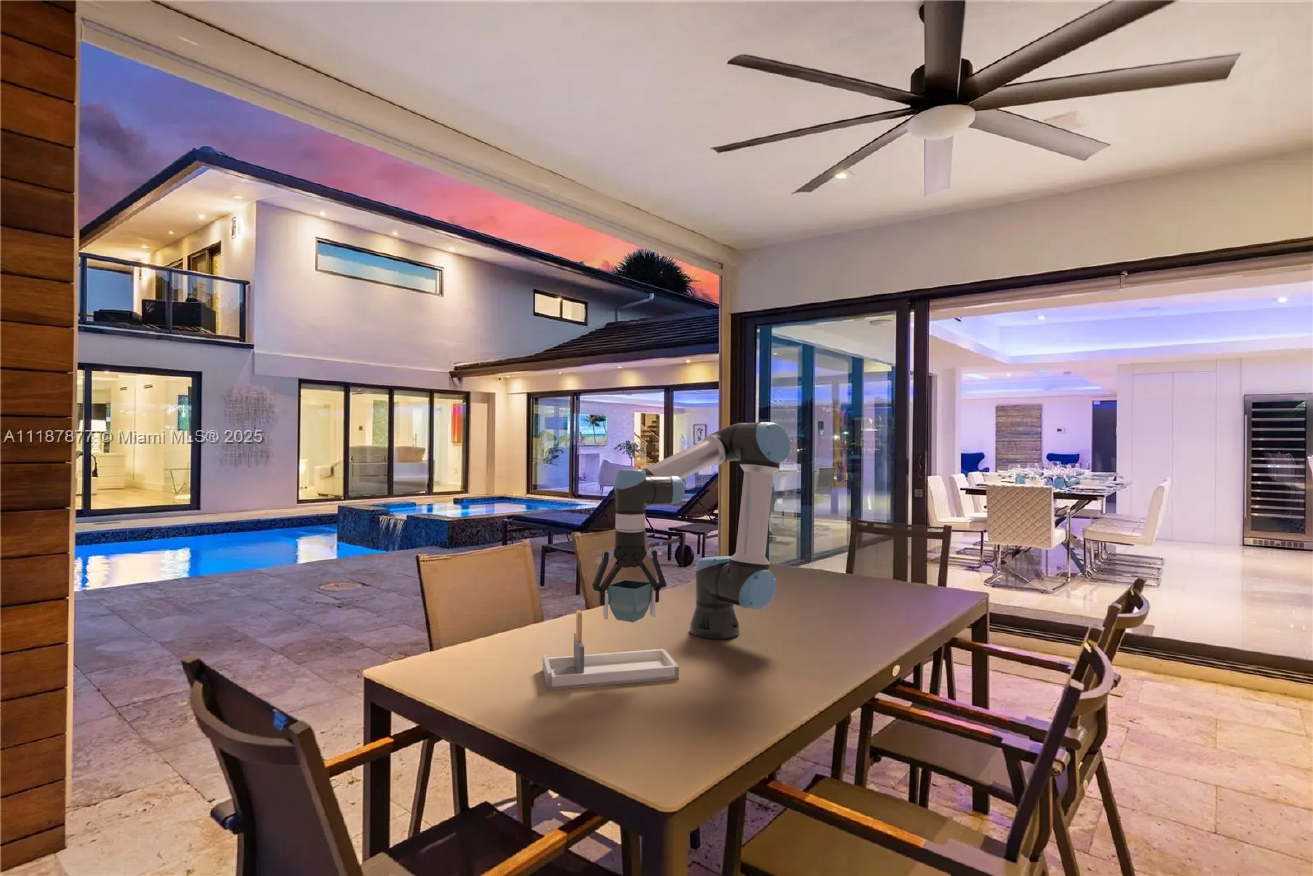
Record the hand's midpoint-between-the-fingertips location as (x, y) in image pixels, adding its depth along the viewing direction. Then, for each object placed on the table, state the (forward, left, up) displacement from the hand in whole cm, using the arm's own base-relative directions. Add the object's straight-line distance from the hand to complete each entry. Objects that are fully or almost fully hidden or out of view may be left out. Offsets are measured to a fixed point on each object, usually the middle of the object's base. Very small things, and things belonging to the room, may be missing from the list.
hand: (629, 616), depth 163 cm
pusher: (+15, 0, -13) cm, 20 cm away
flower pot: (0, 0, -1) cm, 1 cm away
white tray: (+5, 0, -14) cm, 15 cm away
